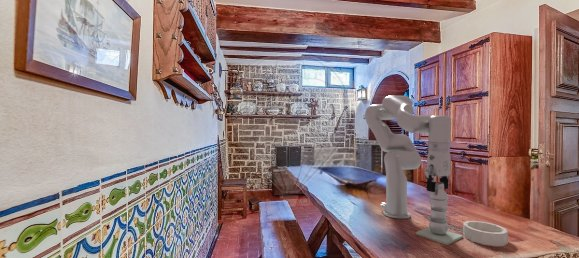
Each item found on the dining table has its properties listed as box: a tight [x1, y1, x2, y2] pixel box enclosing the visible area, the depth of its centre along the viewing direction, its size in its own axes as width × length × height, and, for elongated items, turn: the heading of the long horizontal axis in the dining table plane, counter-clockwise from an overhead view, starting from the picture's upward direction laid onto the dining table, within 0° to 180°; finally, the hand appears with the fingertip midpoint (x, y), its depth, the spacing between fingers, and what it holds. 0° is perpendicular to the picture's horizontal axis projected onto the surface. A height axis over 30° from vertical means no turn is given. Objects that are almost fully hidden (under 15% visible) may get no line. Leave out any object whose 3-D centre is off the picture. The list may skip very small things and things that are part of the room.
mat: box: [415, 227, 464, 246], centre depth 105 cm, size 12×12×1 cm
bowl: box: [462, 220, 509, 247], centre depth 102 cm, size 13×13×4 cm
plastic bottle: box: [428, 181, 449, 235], centre depth 105 cm, size 6×7×20 cm
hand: (437, 189), depth 105 cm, fingers open, 9 cm apart
